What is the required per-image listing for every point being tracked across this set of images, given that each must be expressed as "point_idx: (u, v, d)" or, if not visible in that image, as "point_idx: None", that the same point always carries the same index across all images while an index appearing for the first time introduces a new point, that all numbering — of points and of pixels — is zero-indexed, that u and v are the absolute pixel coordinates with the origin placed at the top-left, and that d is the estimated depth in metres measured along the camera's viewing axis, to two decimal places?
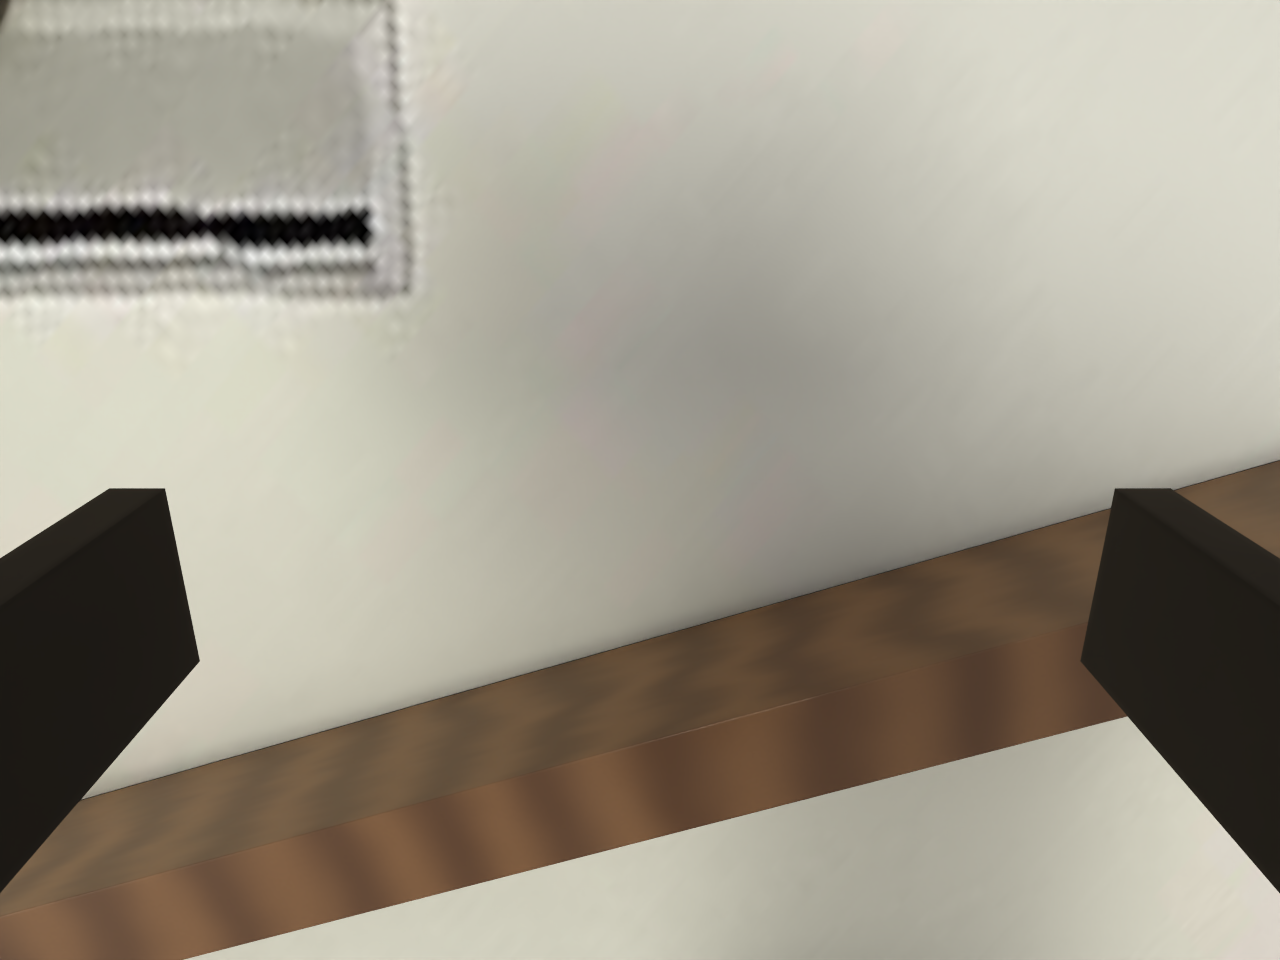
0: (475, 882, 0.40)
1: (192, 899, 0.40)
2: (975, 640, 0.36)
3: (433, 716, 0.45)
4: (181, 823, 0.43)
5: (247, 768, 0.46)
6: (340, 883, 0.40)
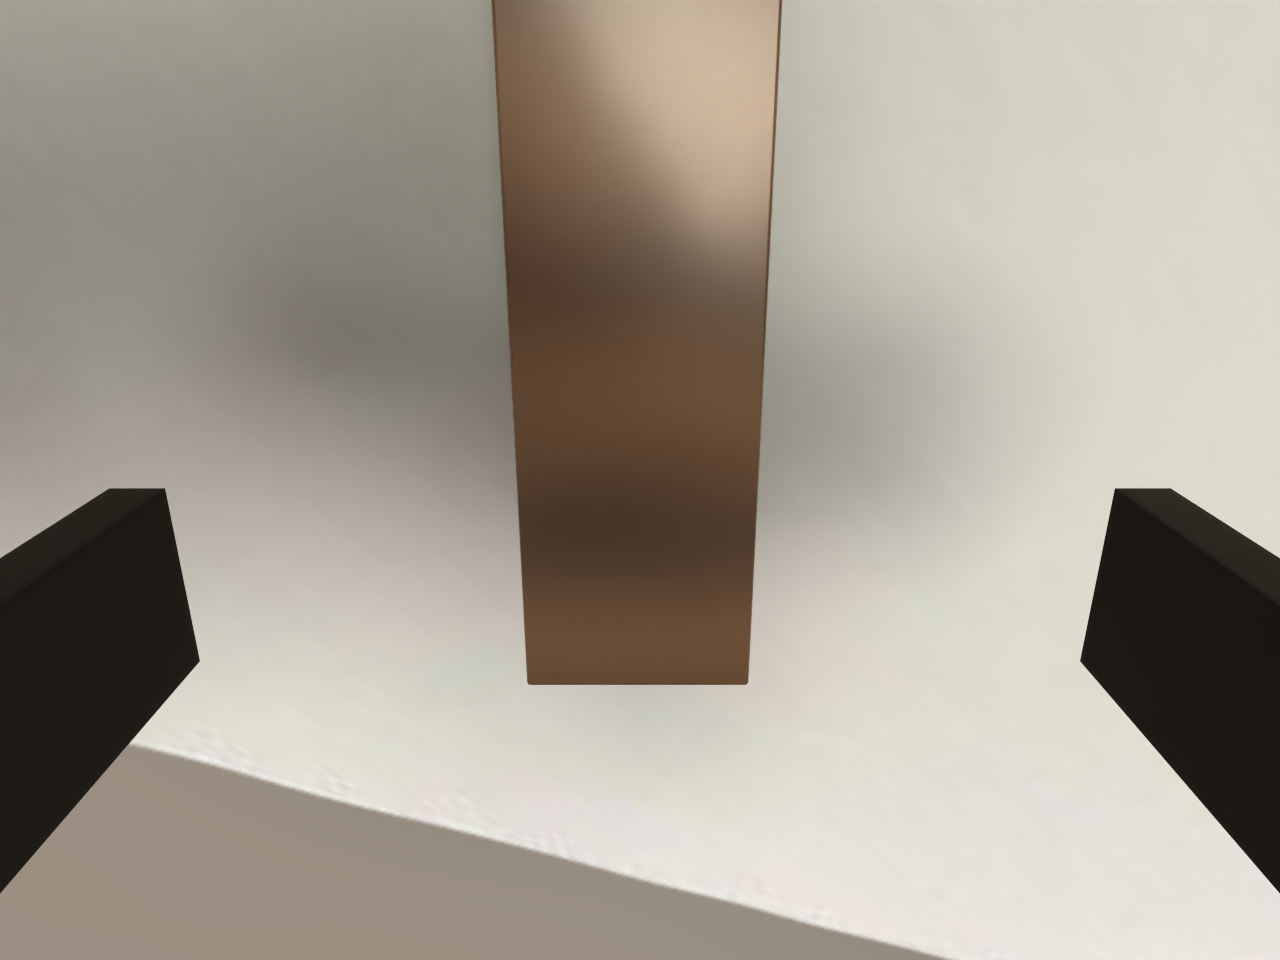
0: None
1: None
2: None
3: None
4: None
5: None
6: None
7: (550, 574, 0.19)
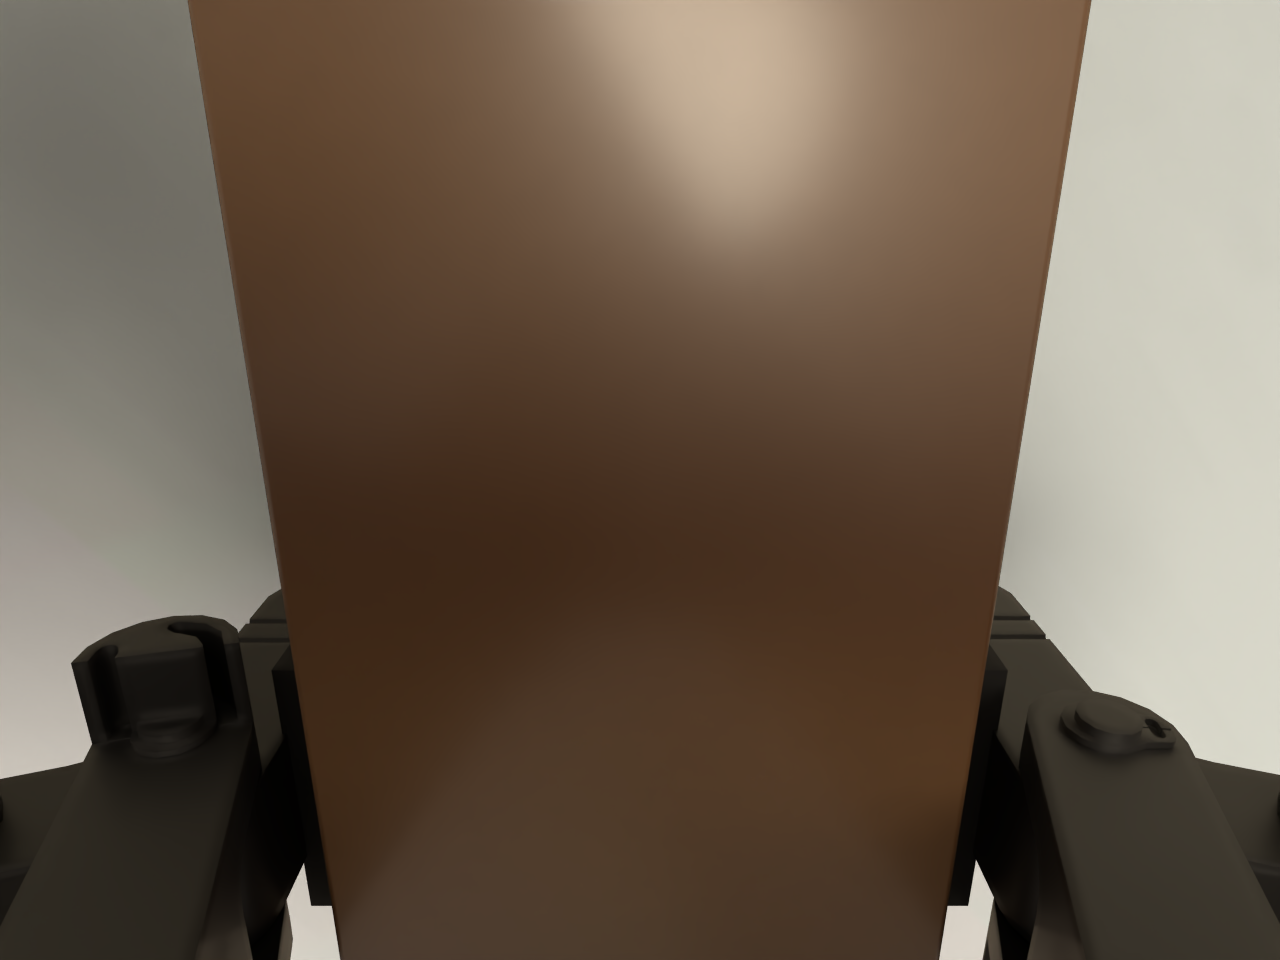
0: None
1: None
2: None
3: None
4: None
5: None
6: None
7: None
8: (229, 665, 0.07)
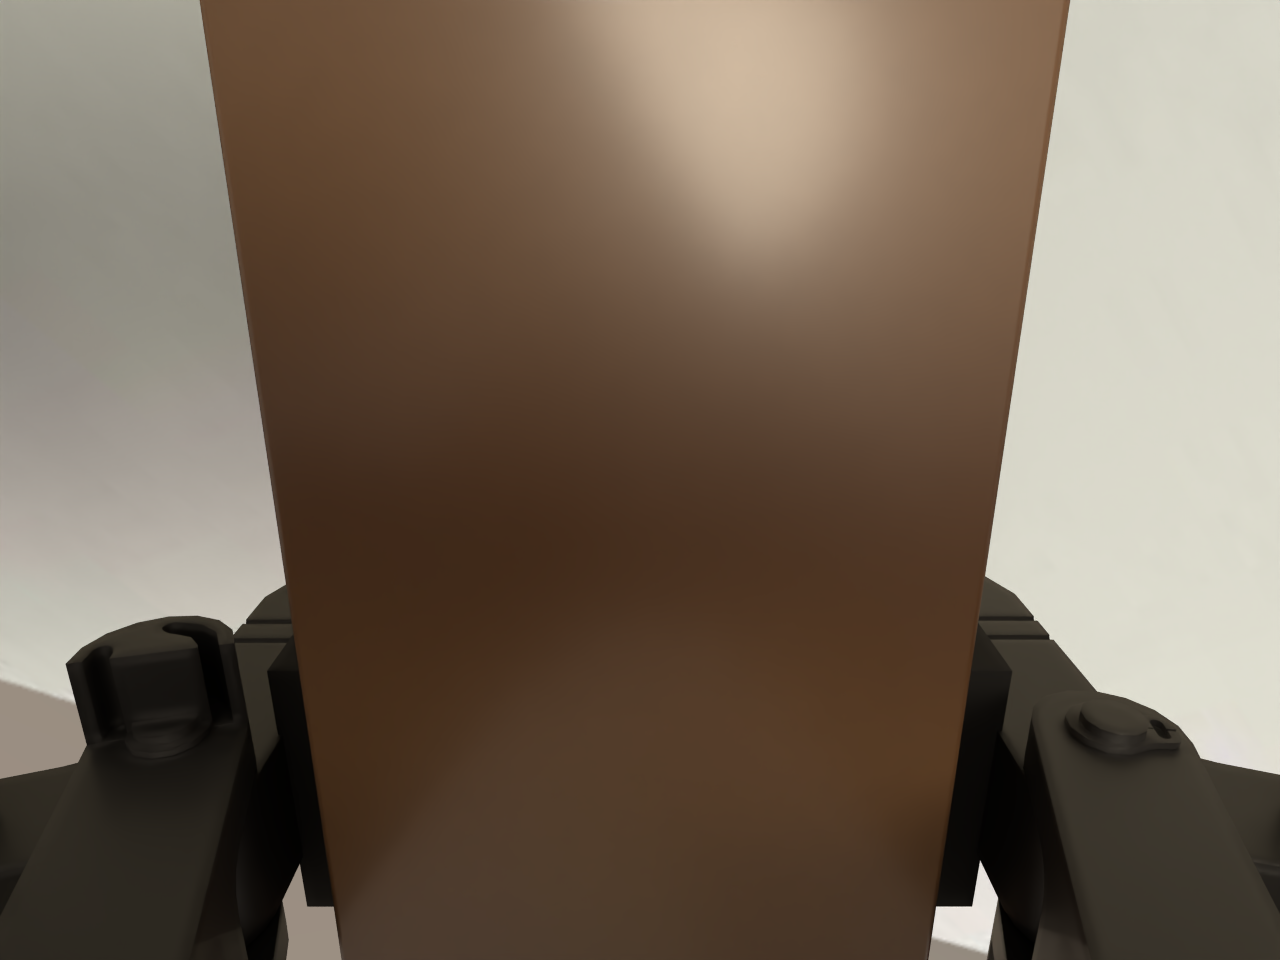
0: None
1: None
2: None
3: None
4: None
5: None
6: None
7: None
8: (224, 666, 0.07)
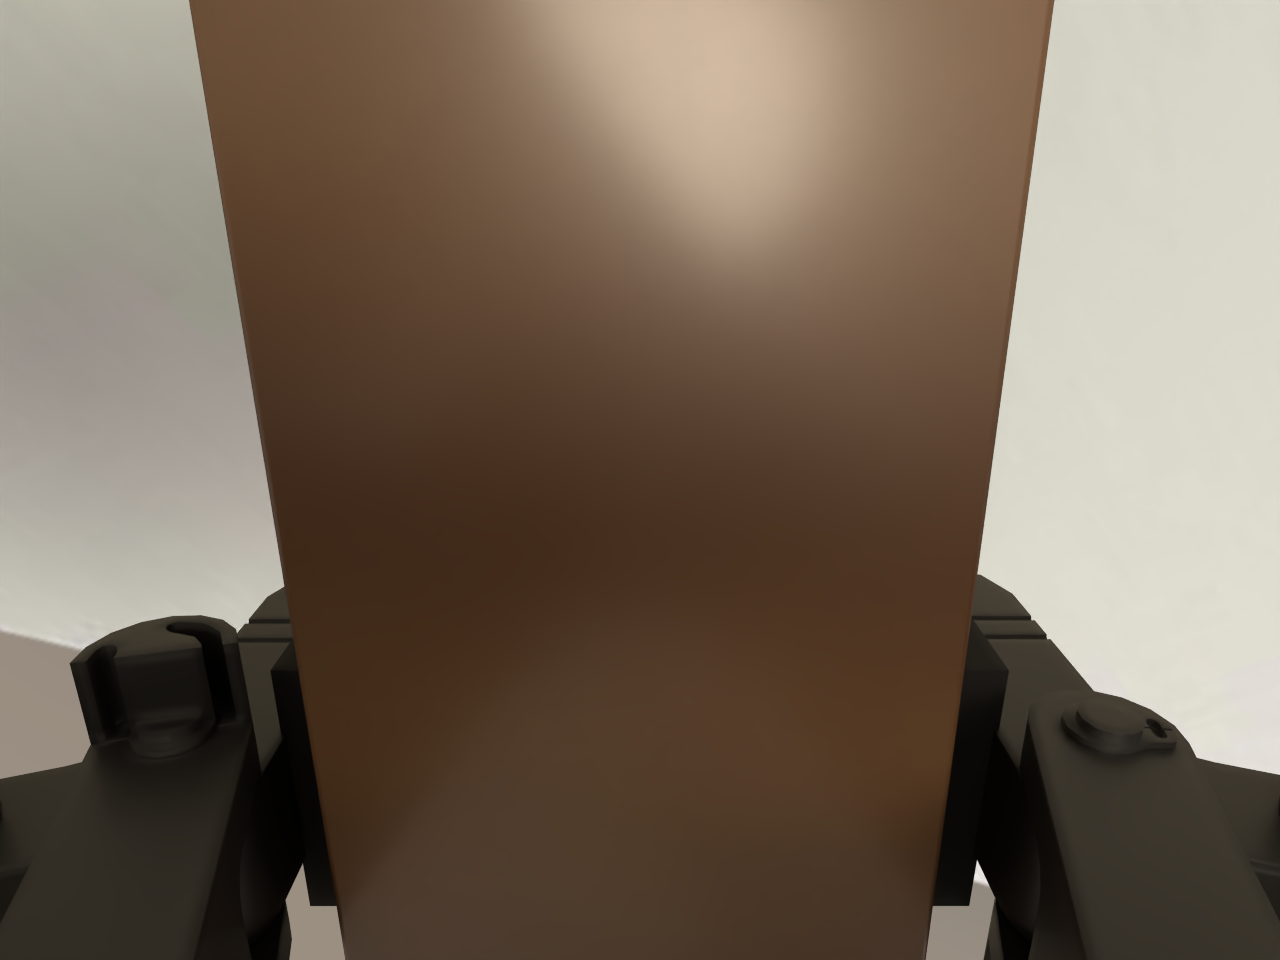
0: None
1: None
2: None
3: None
4: None
5: None
6: None
7: None
8: (228, 665, 0.07)
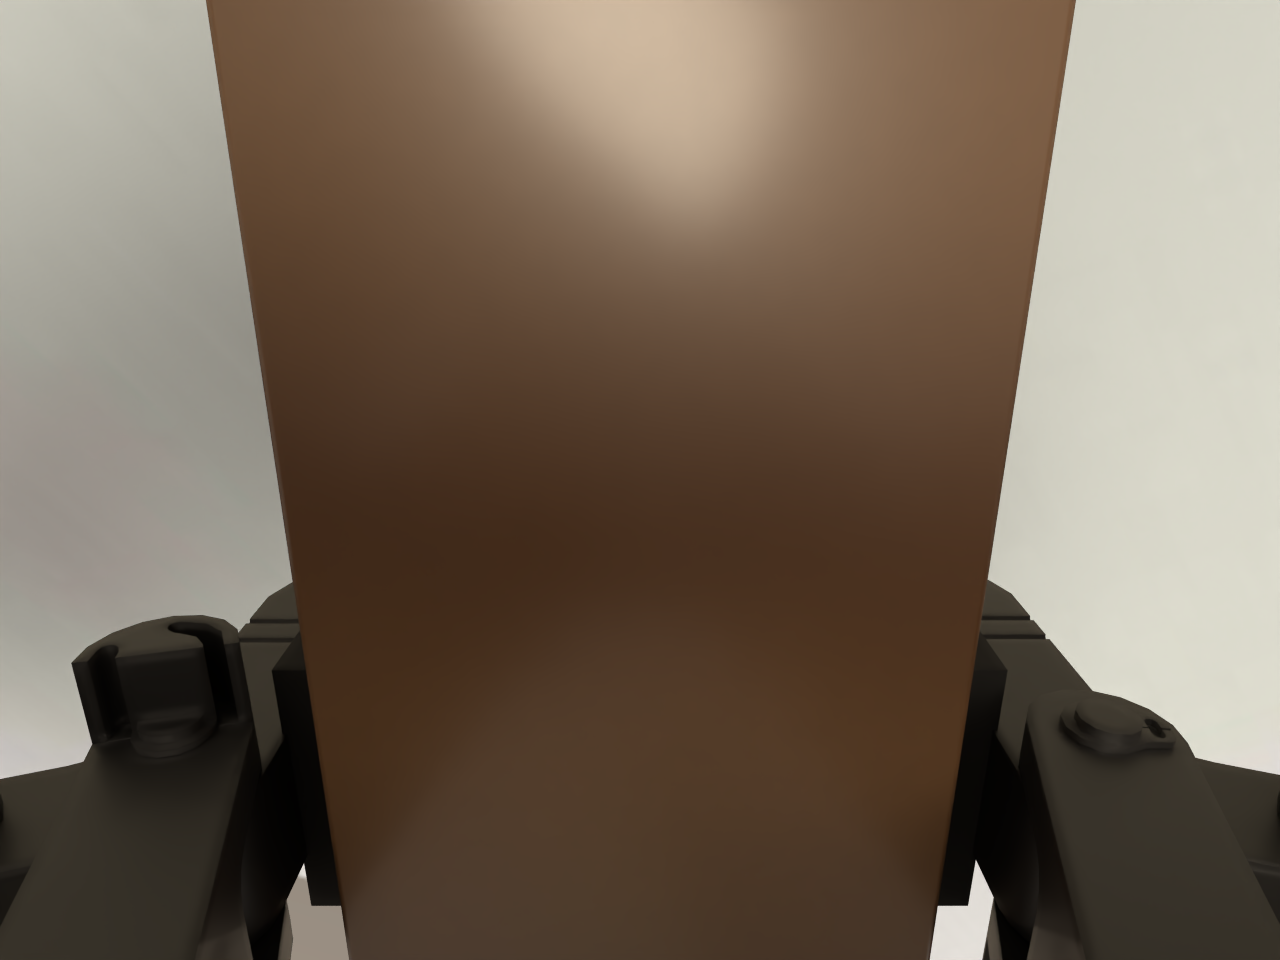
0: None
1: None
2: None
3: None
4: None
5: None
6: None
7: None
8: (229, 665, 0.07)
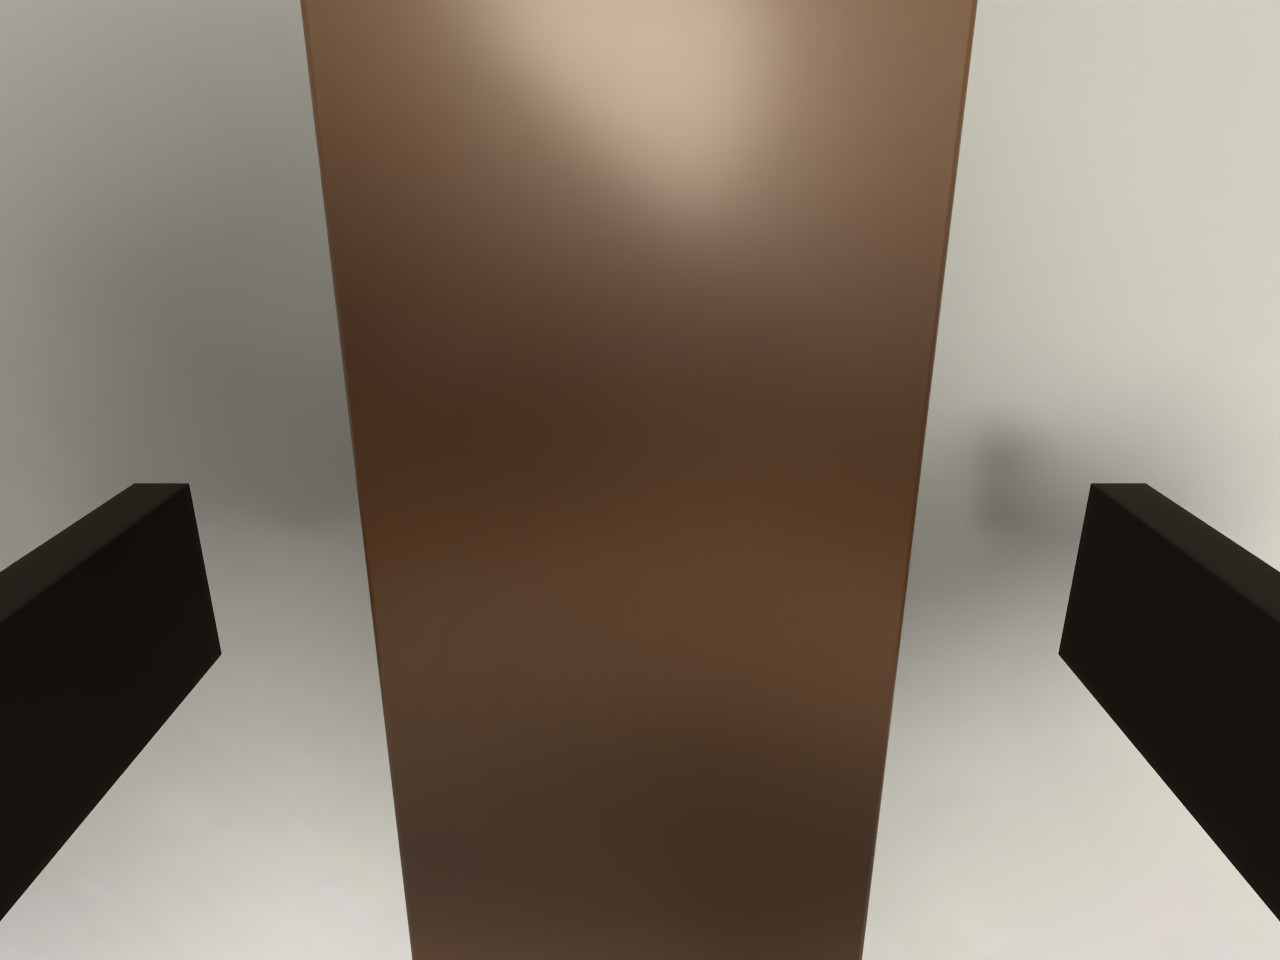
0: None
1: None
2: None
3: None
4: None
5: None
6: None
7: (465, 934, 0.10)
8: None
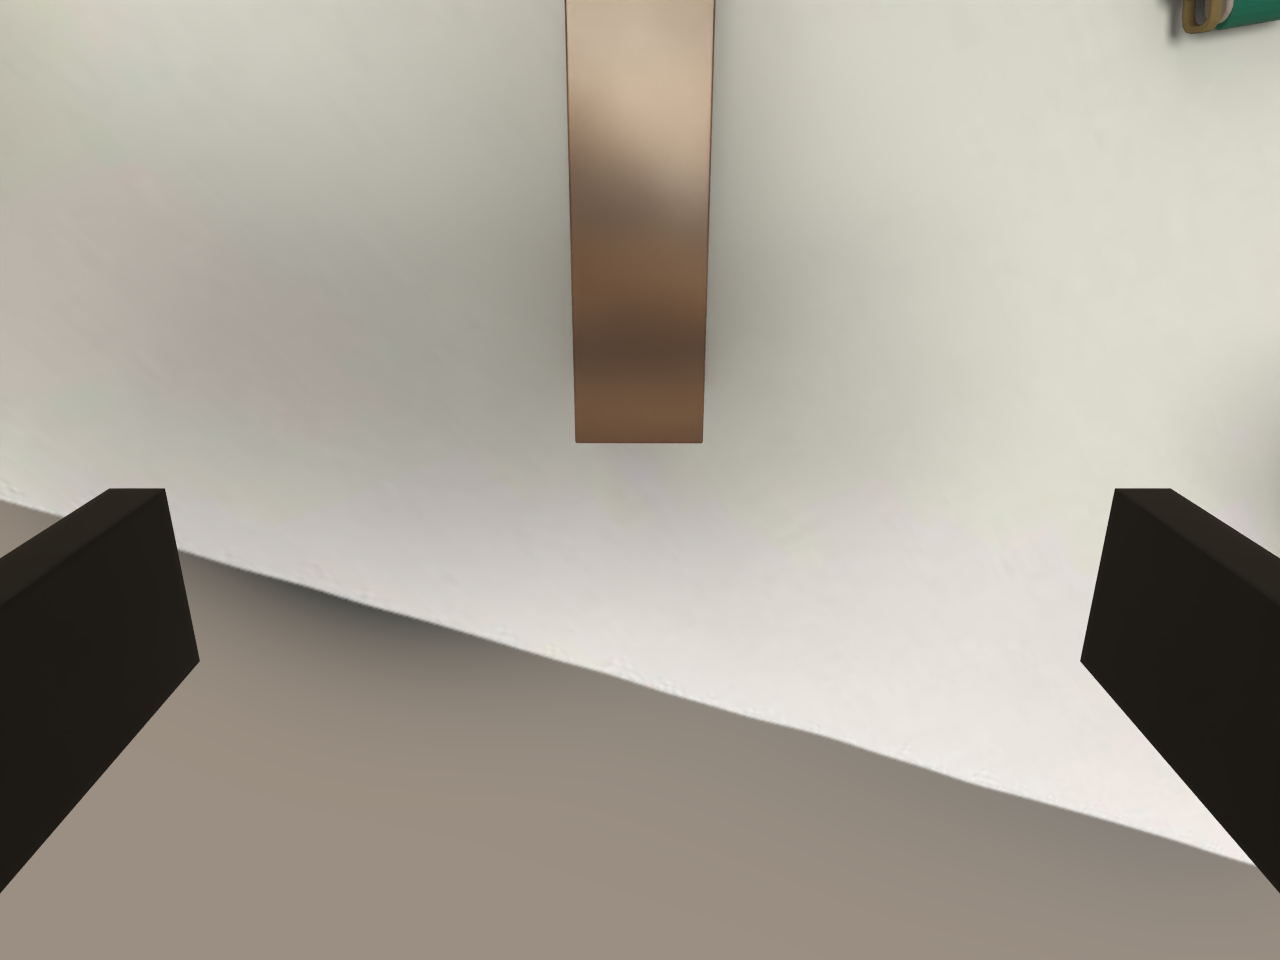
0: None
1: None
2: None
3: None
4: None
5: None
6: None
7: (590, 373, 0.34)
8: None
